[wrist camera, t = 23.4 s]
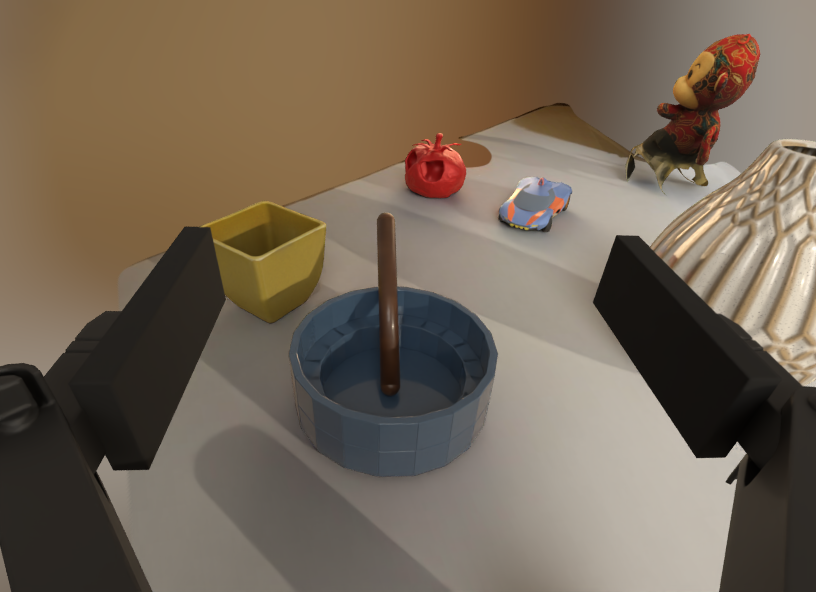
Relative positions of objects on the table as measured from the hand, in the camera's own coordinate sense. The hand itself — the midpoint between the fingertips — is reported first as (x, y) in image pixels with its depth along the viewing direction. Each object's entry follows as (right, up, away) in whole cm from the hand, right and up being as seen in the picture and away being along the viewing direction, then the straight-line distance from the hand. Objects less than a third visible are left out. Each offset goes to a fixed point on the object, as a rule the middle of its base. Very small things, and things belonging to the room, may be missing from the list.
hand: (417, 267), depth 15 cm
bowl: (-2, -9, +22) cm, 24 cm away
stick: (-2, -9, +21) cm, 23 cm away
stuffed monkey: (+45, +18, +66) cm, 82 cm away
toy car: (+18, +11, +54) cm, 58 cm away
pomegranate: (+4, +16, +60) cm, 62 cm away
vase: (+27, -7, +28) cm, 40 cm away
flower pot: (-14, -2, +32) cm, 35 cm away
